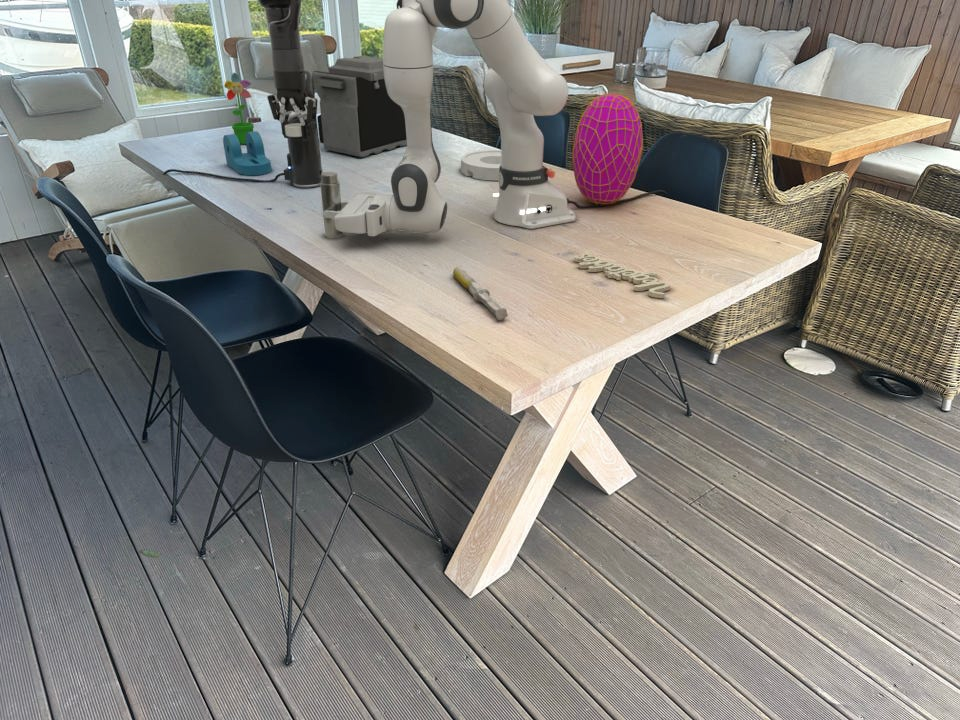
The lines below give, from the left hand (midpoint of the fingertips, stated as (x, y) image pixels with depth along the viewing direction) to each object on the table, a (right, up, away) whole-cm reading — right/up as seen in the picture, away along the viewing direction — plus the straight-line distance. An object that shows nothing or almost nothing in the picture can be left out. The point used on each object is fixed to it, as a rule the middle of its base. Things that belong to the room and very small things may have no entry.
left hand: (297, 138), depth 177 cm
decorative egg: (+83, -11, +24) cm, 87 cm away
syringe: (+47, -44, -33) cm, 72 cm away
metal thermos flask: (+10, -25, -2) cm, 27 cm away
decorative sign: (+80, -38, -22) cm, 91 cm away
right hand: (+9, -20, -5) cm, 22 cm away
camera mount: (-29, +7, +52) cm, 60 cm away
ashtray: (+53, +6, +52) cm, 74 cm away
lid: (0, +3, -2) cm, 3 cm away
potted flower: (-41, +25, +83) cm, 96 cm away
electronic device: (+7, +23, +81) cm, 84 cm away
